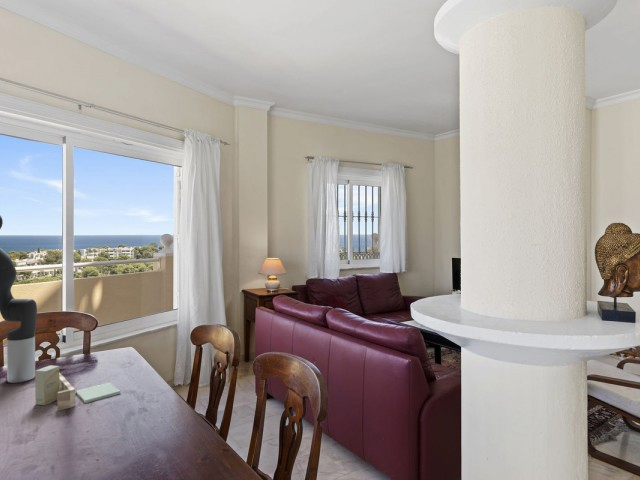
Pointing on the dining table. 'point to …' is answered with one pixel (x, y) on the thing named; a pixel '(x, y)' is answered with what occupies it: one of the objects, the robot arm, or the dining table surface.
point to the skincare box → (46, 385)
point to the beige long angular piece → (65, 394)
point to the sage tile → (97, 392)
